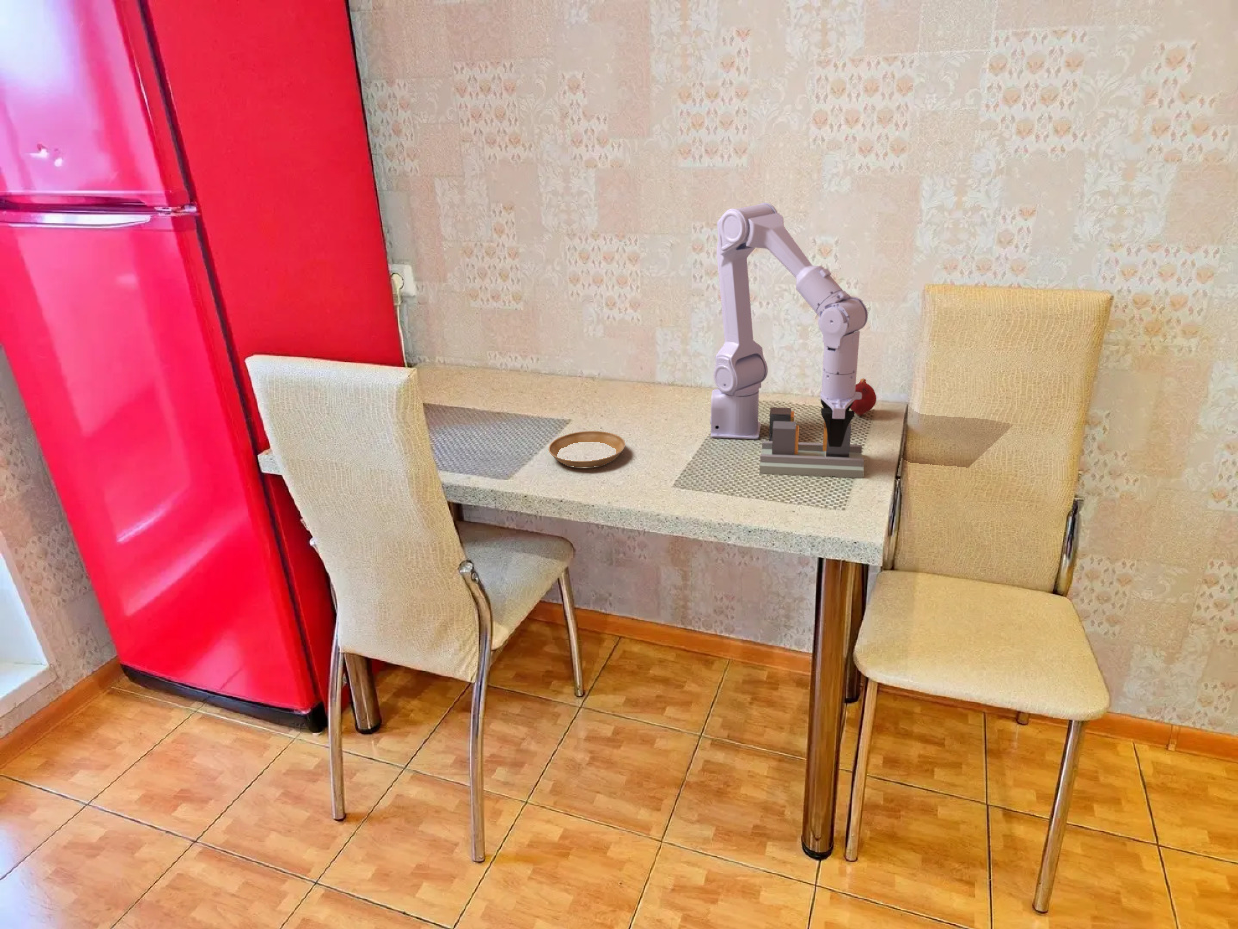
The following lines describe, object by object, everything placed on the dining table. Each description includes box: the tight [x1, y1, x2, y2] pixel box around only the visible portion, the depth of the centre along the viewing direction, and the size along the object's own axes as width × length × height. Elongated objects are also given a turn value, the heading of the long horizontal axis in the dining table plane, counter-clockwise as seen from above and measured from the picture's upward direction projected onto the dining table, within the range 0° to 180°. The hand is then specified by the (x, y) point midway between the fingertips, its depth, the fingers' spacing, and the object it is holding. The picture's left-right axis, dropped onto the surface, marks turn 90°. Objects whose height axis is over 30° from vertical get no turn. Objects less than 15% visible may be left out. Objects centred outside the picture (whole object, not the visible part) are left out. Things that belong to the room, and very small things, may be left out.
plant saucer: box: [548, 430, 626, 467], centre depth 158 cm, size 15×15×3 cm
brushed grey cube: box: [822, 420, 852, 458], centre depth 148 cm, size 5×4×6 cm
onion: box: [849, 377, 877, 417], centre depth 169 cm, size 6×6×8 cm
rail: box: [759, 421, 865, 479], centre depth 149 cm, size 18×10×8 cm, turn 78°
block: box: [768, 406, 795, 441], centre depth 161 cm, size 5×4×6 cm
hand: (834, 441), depth 148 cm, fingers closed on brushed grey cube, 3 cm apart
